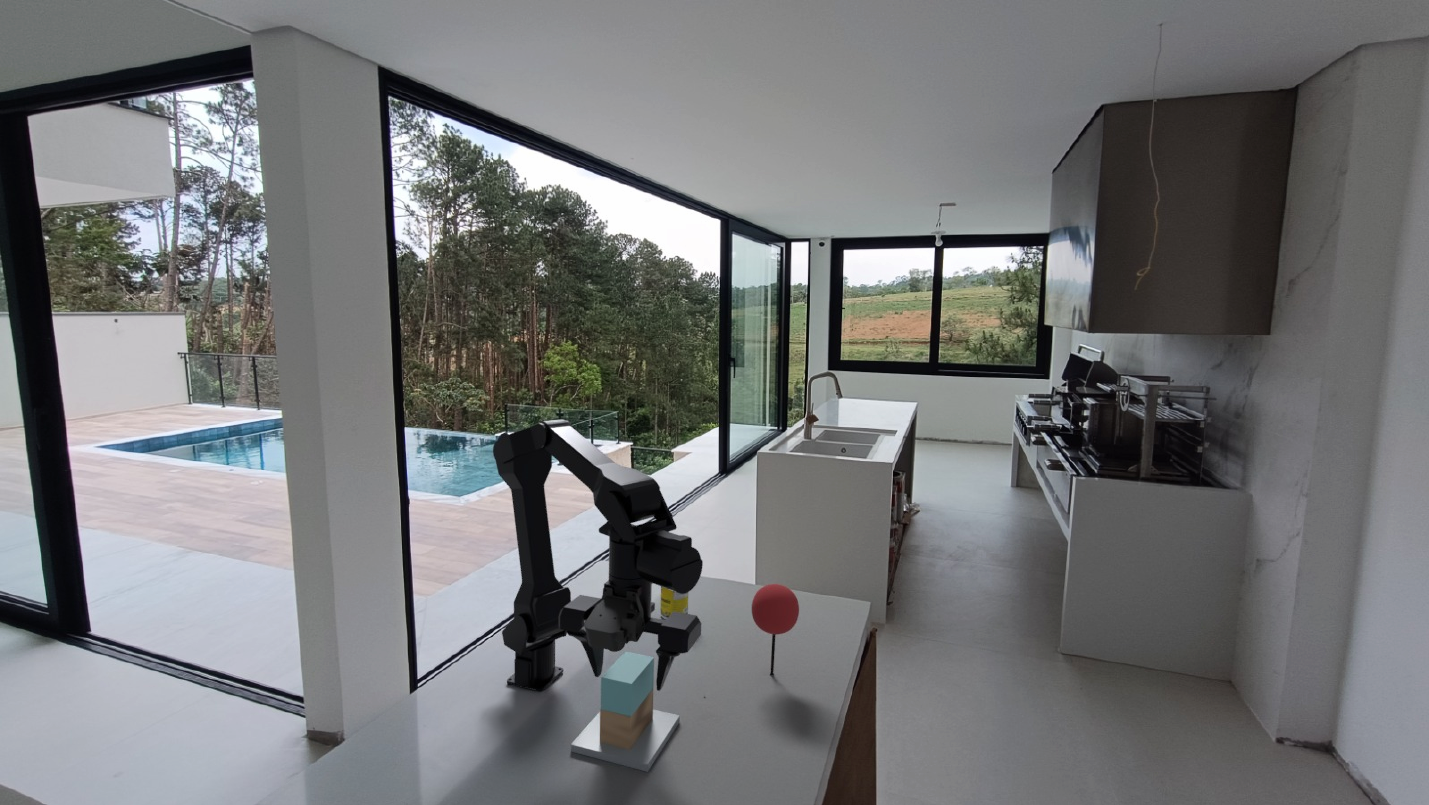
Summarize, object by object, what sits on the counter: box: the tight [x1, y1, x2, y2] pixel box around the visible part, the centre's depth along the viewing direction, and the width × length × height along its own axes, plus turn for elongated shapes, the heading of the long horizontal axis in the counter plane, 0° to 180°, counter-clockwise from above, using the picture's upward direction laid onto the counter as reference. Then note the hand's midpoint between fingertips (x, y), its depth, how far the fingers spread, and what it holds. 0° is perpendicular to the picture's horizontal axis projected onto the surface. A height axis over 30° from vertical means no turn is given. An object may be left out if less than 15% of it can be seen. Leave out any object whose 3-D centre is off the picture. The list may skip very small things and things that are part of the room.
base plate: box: [570, 708, 681, 773], centre depth 86 cm, size 11×11×1 cm
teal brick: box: [600, 651, 655, 716], centre depth 86 cm, size 7×4×4 cm, turn 162°
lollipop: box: [751, 583, 800, 676], centre depth 103 cm, size 8×8×15 cm
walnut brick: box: [599, 688, 654, 750], centre depth 86 cm, size 7×4×4 cm, turn 161°
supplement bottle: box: [659, 586, 689, 620], centre depth 123 cm, size 5×5×10 cm
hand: (628, 682), depth 86 cm, fingers open, 9 cm apart
